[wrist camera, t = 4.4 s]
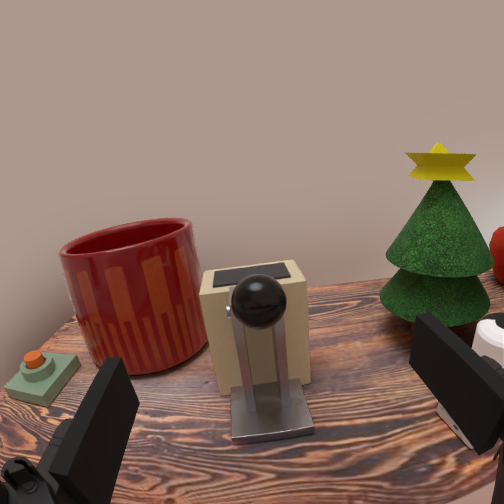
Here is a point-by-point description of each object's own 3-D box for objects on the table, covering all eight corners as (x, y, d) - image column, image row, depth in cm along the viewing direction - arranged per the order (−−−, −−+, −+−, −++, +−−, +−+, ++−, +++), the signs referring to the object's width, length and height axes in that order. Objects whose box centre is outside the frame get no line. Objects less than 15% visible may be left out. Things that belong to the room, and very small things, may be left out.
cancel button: (38, 371, 39) (33, 362, 38) (24, 369, 39) (20, 360, 38) (48, 359, 42) (44, 350, 42) (34, 357, 42) (31, 349, 42)
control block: (48, 407, 35) (37, 386, 34) (9, 397, 36) (-2, 378, 35) (81, 364, 47) (73, 345, 46) (42, 361, 48) (34, 343, 46)
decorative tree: (383, 367, 39) (387, 137, 31) (373, 306, 57) (368, 143, 49) (498, 355, 34) (523, 144, 26) (462, 300, 52) (468, 144, 43)
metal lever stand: (314, 433, 30) (312, 312, 26) (233, 445, 30) (205, 326, 26) (295, 372, 42) (288, 266, 38) (231, 381, 42) (212, 276, 37)
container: (476, 388, 30) (501, 299, 26) (512, 420, 22) (550, 326, 19) (434, 412, 29) (458, 318, 25) (470, 451, 21) (512, 355, 18)
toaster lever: (294, 326, 18) (285, 266, 19) (233, 334, 18) (225, 274, 19) (274, 322, 33) (270, 289, 34) (241, 327, 33) (236, 293, 34)
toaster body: (310, 383, 39) (306, 278, 35) (220, 396, 39) (198, 292, 34) (299, 351, 47) (293, 257, 42) (221, 362, 46) (203, 268, 42)
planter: (209, 306, 66) (193, 211, 61) (217, 370, 44) (192, 237, 39) (107, 321, 63) (83, 231, 57) (78, 384, 41) (33, 265, 36)
